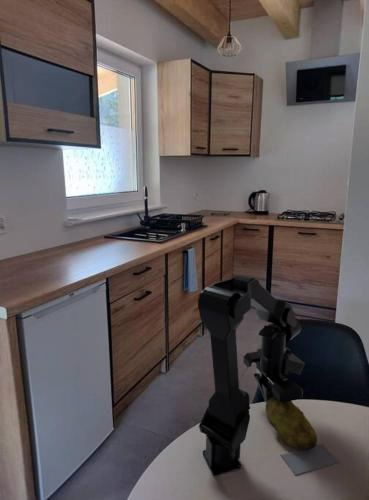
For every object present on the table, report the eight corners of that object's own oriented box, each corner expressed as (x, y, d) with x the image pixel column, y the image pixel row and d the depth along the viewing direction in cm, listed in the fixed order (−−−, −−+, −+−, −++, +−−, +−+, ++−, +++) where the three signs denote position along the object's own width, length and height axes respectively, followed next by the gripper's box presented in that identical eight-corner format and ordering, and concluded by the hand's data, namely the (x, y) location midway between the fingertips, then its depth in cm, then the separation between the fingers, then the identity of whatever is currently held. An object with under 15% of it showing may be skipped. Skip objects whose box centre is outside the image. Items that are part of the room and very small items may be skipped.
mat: (295, 475, 73) (295, 474, 73) (280, 455, 78) (280, 454, 78) (339, 462, 76) (339, 461, 76) (322, 444, 81) (322, 443, 81)
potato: (287, 460, 76) (289, 427, 75) (259, 421, 88) (261, 392, 87) (320, 453, 78) (323, 420, 77) (289, 416, 91) (291, 388, 89)
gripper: (325, 362, 82) (318, 421, 85) (279, 328, 99) (275, 378, 102) (283, 370, 78) (278, 431, 82) (243, 333, 96) (241, 385, 99)
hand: (268, 403), depth 91 cm, fingers closed
